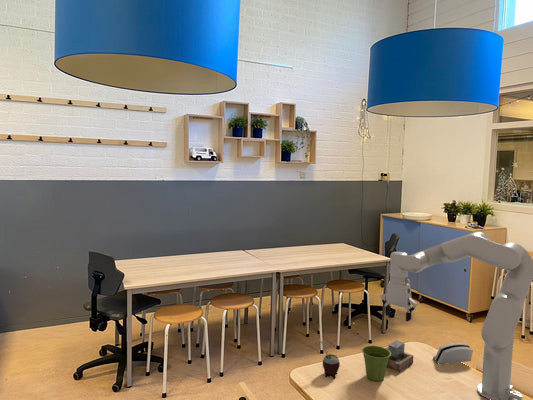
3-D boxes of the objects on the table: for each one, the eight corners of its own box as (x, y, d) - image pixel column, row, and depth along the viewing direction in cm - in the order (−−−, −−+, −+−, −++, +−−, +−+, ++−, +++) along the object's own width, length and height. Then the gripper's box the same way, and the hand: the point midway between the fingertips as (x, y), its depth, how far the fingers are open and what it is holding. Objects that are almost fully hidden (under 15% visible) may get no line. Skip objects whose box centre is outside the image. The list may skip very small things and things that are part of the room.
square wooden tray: (413, 363, 181) (413, 355, 181) (399, 372, 172) (399, 364, 172) (388, 353, 190) (388, 346, 190) (374, 362, 181) (374, 354, 181)
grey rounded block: (463, 355, 189) (469, 339, 184) (470, 363, 184) (476, 347, 180) (431, 359, 185) (437, 342, 181) (437, 367, 181) (443, 350, 177)
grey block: (403, 360, 181) (404, 343, 181) (396, 365, 176) (396, 347, 176) (391, 355, 186) (392, 339, 185) (383, 360, 181) (384, 343, 180)
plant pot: (391, 386, 162) (392, 359, 161) (361, 382, 164) (362, 356, 163) (388, 371, 173) (389, 346, 172) (360, 368, 176) (361, 343, 175)
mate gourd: (342, 377, 168) (343, 342, 167) (327, 381, 165) (328, 346, 164) (331, 369, 175) (332, 335, 174) (316, 373, 171) (317, 339, 170)
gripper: (421, 282, 174) (420, 320, 175) (385, 274, 186) (384, 310, 187) (413, 285, 169) (412, 325, 170) (376, 277, 181) (376, 314, 182)
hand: (397, 317), depth 179 cm, fingers open, 9 cm apart
